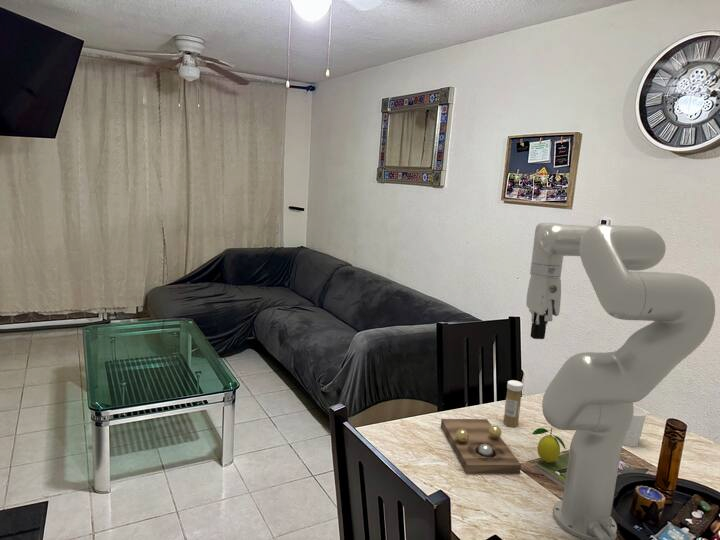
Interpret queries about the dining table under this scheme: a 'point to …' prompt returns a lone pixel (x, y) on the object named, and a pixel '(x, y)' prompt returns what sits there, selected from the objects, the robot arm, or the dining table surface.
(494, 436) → the brass ball
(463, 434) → the brass ball
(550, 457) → the lemon
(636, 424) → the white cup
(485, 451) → the steel ball
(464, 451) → the plate
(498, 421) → the dining table surface
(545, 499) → the dining table surface
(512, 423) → the sprinkles bottle
